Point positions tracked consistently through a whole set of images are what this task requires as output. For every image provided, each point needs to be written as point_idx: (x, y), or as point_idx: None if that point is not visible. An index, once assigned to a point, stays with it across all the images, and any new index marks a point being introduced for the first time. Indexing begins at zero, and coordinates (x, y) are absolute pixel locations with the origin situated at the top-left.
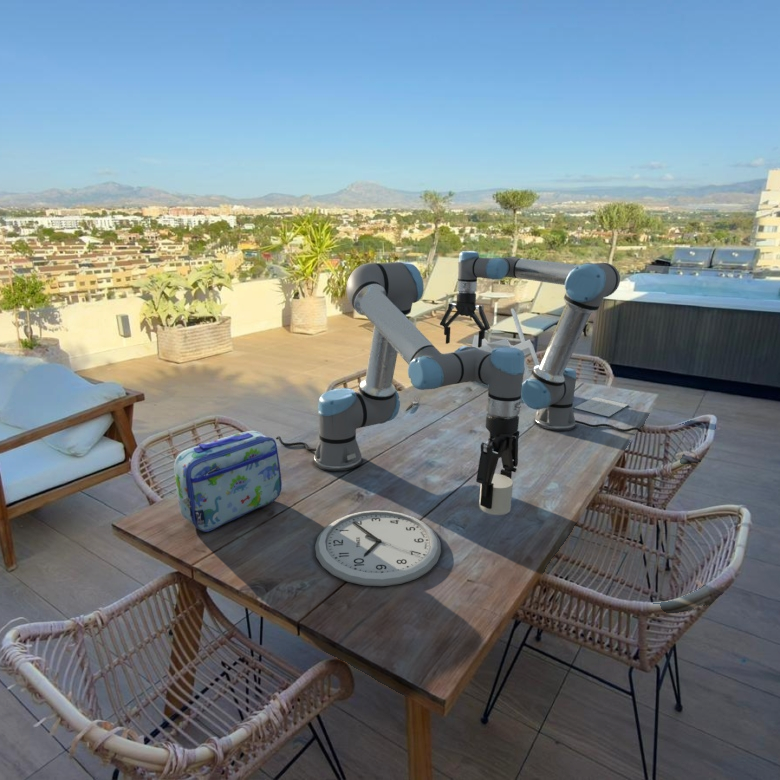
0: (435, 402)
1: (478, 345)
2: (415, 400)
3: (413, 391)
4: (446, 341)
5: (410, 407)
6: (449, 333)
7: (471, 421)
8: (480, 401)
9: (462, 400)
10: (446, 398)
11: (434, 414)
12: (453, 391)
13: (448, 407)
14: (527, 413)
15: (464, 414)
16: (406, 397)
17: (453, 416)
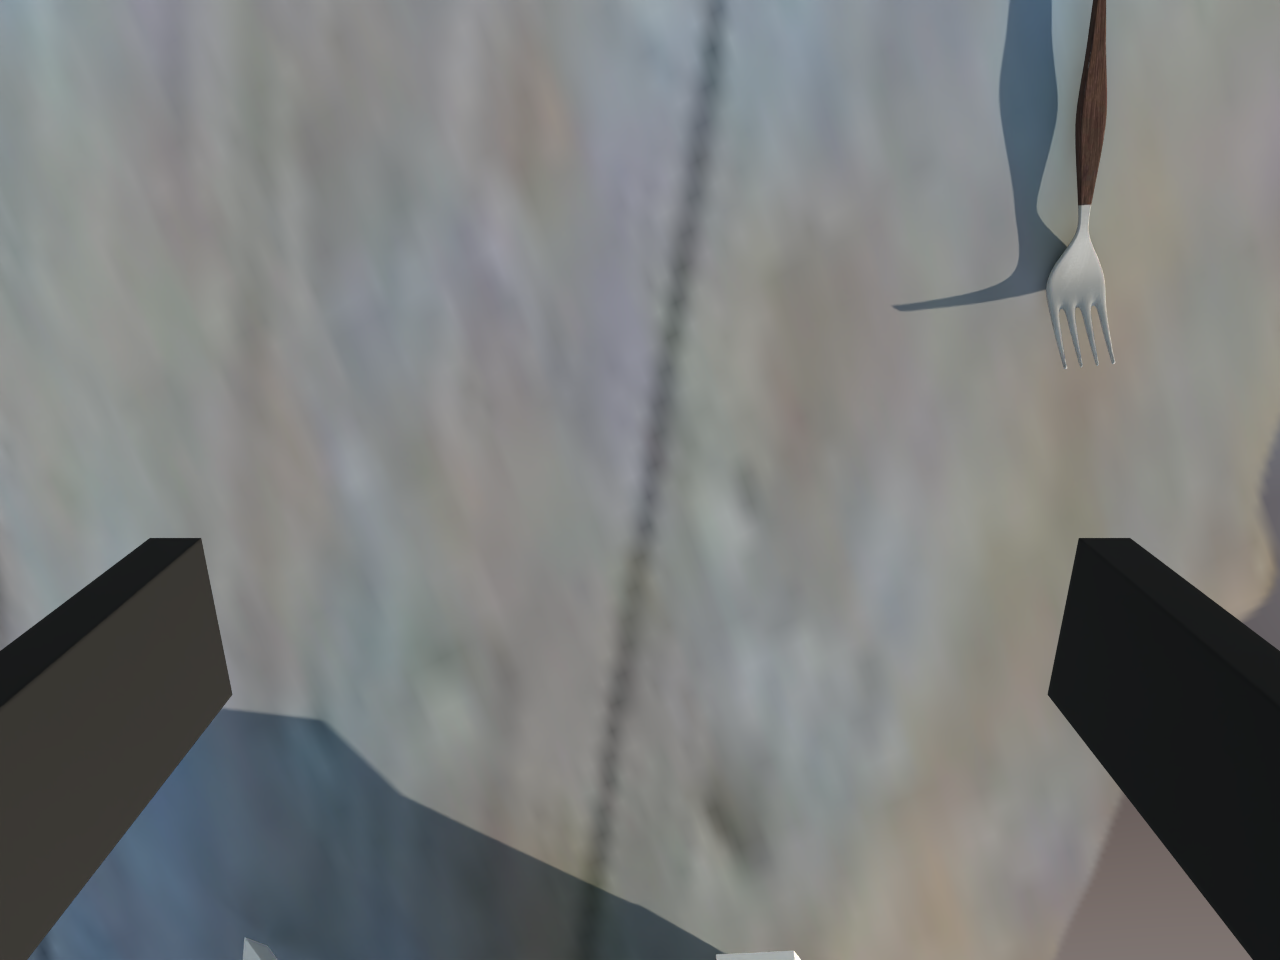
0: (899, 396)
1: (154, 560)
2: (1086, 310)
3: None
4: (1144, 563)
5: (1083, 83)
6: (1223, 845)
7: (429, 48)
8: (553, 601)
9: (696, 557)
10: (838, 542)
11: (809, 59)
12: (835, 729)
13: (749, 323)
14: (112, 502)
15: (555, 210)
16: (1191, 400)
17: (626, 100)
